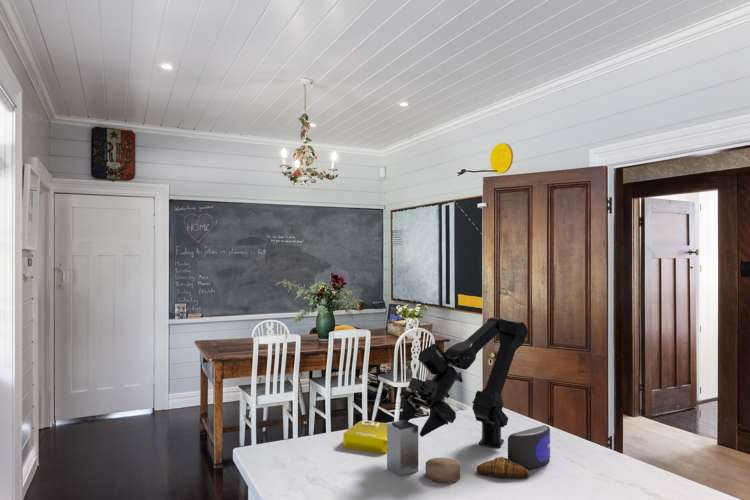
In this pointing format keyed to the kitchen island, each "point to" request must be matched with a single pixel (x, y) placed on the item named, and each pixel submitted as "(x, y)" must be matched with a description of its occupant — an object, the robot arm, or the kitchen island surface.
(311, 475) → the kitchen island surface
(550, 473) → the kitchen island surface
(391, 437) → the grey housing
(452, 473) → the walnut stand
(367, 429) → the element tile
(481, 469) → the croissant
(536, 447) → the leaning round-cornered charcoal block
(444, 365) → the robot arm
